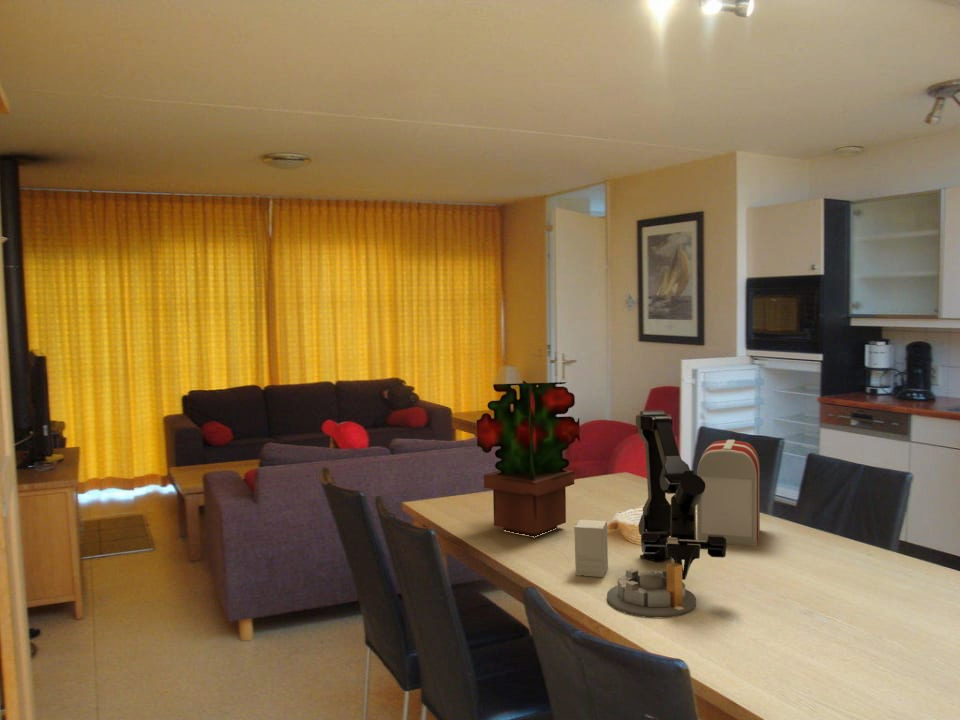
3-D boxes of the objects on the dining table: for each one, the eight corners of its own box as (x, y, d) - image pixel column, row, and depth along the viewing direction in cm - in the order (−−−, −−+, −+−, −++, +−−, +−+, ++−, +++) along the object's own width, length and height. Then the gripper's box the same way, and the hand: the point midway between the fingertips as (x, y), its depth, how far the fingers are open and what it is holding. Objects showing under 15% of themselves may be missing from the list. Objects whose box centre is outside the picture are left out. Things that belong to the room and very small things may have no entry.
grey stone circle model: (589, 601, 184) (588, 577, 183) (641, 579, 197) (641, 558, 197) (662, 625, 169) (662, 599, 169) (713, 600, 183) (713, 576, 182)
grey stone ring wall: (613, 585, 190) (613, 548, 189) (673, 583, 190) (673, 546, 190) (627, 608, 175) (626, 568, 175) (692, 606, 176) (691, 566, 175)
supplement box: (608, 568, 206) (608, 520, 205) (603, 578, 199) (603, 528, 198) (580, 566, 209) (580, 518, 208) (574, 575, 202) (573, 526, 201)
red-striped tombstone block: (696, 541, 229) (695, 447, 227) (703, 525, 245) (703, 437, 243) (757, 546, 223) (757, 450, 221) (760, 529, 239) (760, 440, 237)
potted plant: (580, 528, 245) (578, 381, 242) (538, 545, 228) (535, 388, 225) (523, 517, 259) (520, 378, 256) (479, 532, 242) (475, 384, 239)
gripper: (723, 536, 191) (725, 597, 181) (644, 532, 196) (642, 592, 186) (725, 512, 183) (727, 575, 173) (642, 508, 188) (639, 570, 178)
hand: (683, 578), depth 178 cm, fingers closed
